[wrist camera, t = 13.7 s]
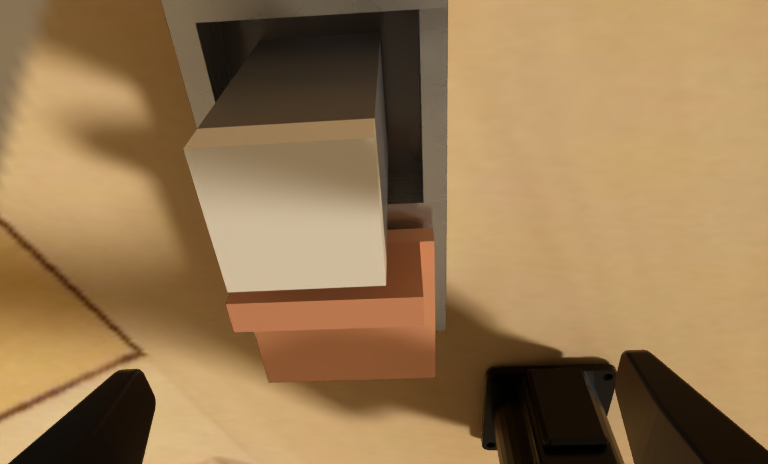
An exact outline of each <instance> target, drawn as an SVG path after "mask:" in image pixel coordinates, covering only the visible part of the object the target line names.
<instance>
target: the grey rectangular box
mask: <svg viewBox="0 0 768 464" xmlns="http://www.w3.org/2000/svg"><path fill="white" fill-rule="evenodd" d="M161 2H162V6H163V9H164V13H165V16H166V20H167V24H168V27H169V31H170V34H171V38H172V42H173V45H174V49H175V52H176V56H177V59H178V63H179V67H180V70H181V74H182V77H183V81H184V85H185V88H186V92H187V95H188V99H189V102H190V106H191V110H192V113H193V117H194V120H195V124H196V128H198V127H199V125H200V124H201V123H202V121H203V120H204V118H205V117H206V116H207V114H208V113H209V111H210V110H211V108H212V107H213V106H214V104H215V103H216V101H217V100H218V99H219V97H220V96H221V94H222V93H223V91H224V90H225V89H226V87H227V86H228V84H229V83H230V82H231V80H232V79H233V77H234V76H235V74H236V73H237V72H238V70H239V69H240V67H241V66H242V64H243V63H244V62H245V60H246V59H247V57H248V56H249V55H250V53H251V52H252V50H253V49H254V47H255V46H256V45H257V43H258V42H259V40H267V39H282V38H297V37H312V36H327V35H342V34H357V33H372V32H381V46H382V60H383V74H384V88H385V103H386V117H387V131H388V198H387V230H393V229H416V228H433V232H434V248H435V331H446V233H447V74H448V0H161ZM254 335H255V332H254ZM255 337H256V335H255Z"/></svg>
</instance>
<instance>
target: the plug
mask: <svg viewBox="0 0 768 464" xmlns="http://www.w3.org/2000/svg"><path fill="white" fill-rule="evenodd" d="M183 150H184V153H185V156H186V160H187V163H188V166H189V169H190V173H191V176H192V179H193V182H194V185H195V189H196V192H197V195H198V198H199V202H200V205H201V208H202V211H203V215H204V218H205V221H206V224H207V227H208V231H209V234H210V237H211V240H212V244H213V247H214V250H215V253H216V256H217V260H218V263H219V266H220V269H221V273H222V276H223V279H224V282H225V286H226V289H227V292H249V291H272V290H295V289H319V288H342V287H365V286H386V261H387V198H388V131H387V117H386V103H385V88H384V74H383V60H382V46H381V32H372V33H357V34H342V35H327V36H312V37H297V38H282V39H267V40H259V42H258V43H257V45H256V46H255V47H254V49H253V50H252V52H251V53H250V55H249V56H248V57H247V59H246V60H245V62H244V63H243V64H242V66H241V67H240V69H239V70H238V72H237V73H236V74H235V76H234V77H233V79H232V80H231V82H230V83H229V84H228V86H227V87H226V89H225V90H224V91H223V93H222V94H221V96H220V97H219V99H218V100H217V101H216V103H215V104H214V106H213V107H212V108H211V110H210V111H209V113H208V114H207V116H206V117H205V118H204V120H203V121H202V123H201V124H200V125H199V127H198V128H197V130H196V131H195V133H194V134H193V135H192V137H191V138H190V140H189V141H188V142H187V144H186V145H185V147H184V148H183Z"/></svg>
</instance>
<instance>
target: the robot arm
mask: <svg viewBox="0 0 768 464" xmlns="http://www.w3.org/2000/svg"><path fill="white" fill-rule="evenodd" d="M614 389H615V391H616V396H617V400H618V403H619V407H620V411H621V415H622V419H623V422H624V426H625V430H626V434H627V438H628V441H629V445H630V449H631V453H632V457H633V460H634V464H768V450H767V449H765V448H764V447H763V446H762V445H761V444H759V443H758V442H757V441H756V440H755V439H753V438H752V437H751V436H750V435H749V434H747V433H746V432H745V431H744V430H743V429H741V428H740V427H739V426H738V425H737V424H735V423H734V422H733V421H732V420H731V419H729V418H728V417H727V416H726V415H725V414H723V413H722V412H721V411H720V410H719V409H717V408H716V407H715V406H714V405H713V404H712V403H710V402H709V401H708V400H707V399H706V398H704V397H703V396H702V395H701V394H700V393H698V392H697V391H696V390H695V389H694V388H692V387H691V386H690V385H689V384H688V383H686V382H685V381H684V380H683V379H682V378H680V377H679V376H678V375H677V374H676V373H674V372H673V371H672V370H671V369H670V368H668V367H667V366H666V365H665V364H664V363H663V362H661V361H660V360H659V359H658V358H657V357H655V356H654V355H653V354H652V353H650V352H649V351H646V350H627V351H624V352H623V353H622V355H621V358H620V362H619V366H618V370H617V371H616V369H615V367H614V366H613V365H610V364H596V365H563V366H530V367H498V368H492V369H489V370H488V371H487V372H486V377H485V392H484V406H483V420H482V435H481V441H482V447H483V448H484V449H486V450H497V451H498V456H499V462H500V464H624V461H623V458H622V456H621V453H620V451H619V448H618V445H617V443H616V440H615V437H614V435H613V432H612V429H611V427H610V424H609V421H608V419H607V414H608V411H609V407H610V404H611V400H612V396H613V393H614ZM155 405H156V401H155V396H154V394H153V392H152V389H151V387H150V385H149V383H148V381H147V379H146V377H145V375H144V373H143V372H142V371H141V370H140V369H124V370H119V371H117V372H115V373H114V374H113V375H111V376H110V377H109V378H108V379H107V380H106V381H104V382H103V383H102V384H101V385H100V386H99V387H97V388H96V389H95V390H94V391H93V392H92V393H90V394H89V395H88V396H87V397H86V398H85V399H83V400H82V401H81V402H80V403H79V404H78V405H76V406H75V407H74V408H73V409H72V410H71V411H69V412H68V413H67V414H66V415H65V416H63V417H62V418H61V419H60V420H59V421H58V422H56V423H55V424H54V425H53V426H52V427H51V428H49V429H48V430H47V431H46V432H45V433H44V434H42V435H41V436H40V437H39V438H38V439H37V440H35V441H34V442H33V443H32V444H31V445H30V446H28V447H27V448H26V449H25V450H24V451H23V452H21V453H20V454H19V455H18V456H17V457H15V458H14V459H13V460H12V461H11V462H10V463H8V464H142V462H143V458H144V454H145V450H146V445H147V441H148V437H149V433H150V428H151V424H152V420H153V416H154V412H155Z"/></svg>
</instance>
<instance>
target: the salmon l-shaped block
mask: <svg viewBox="0 0 768 464" xmlns="http://www.w3.org/2000/svg"><path fill="white" fill-rule="evenodd" d="M226 307H227V310H228V314H229V317H230V320H231V323H232V327H233V330H234V332H255V335H256V339H257V342H258V346H259V349H260V353H261V357H262V360H263V364H264V367H265V371H266V375H267V378H268V382H269V383H273V382H306V381H340V380H374V379H408V378H436V354H435V248H434V232H433V228H416V229H393V230H387V261H386V286H365V287H342V288H319V289H295V290H272V291H249V292H230V294H229V296H228V299H227V302H226Z"/></svg>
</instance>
